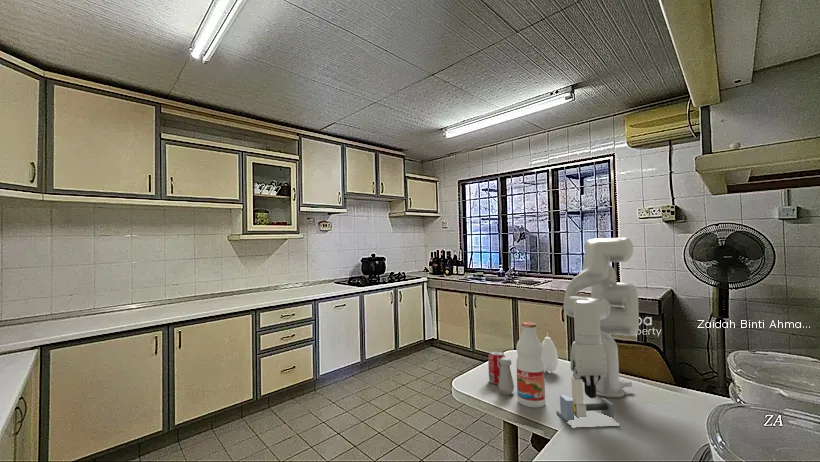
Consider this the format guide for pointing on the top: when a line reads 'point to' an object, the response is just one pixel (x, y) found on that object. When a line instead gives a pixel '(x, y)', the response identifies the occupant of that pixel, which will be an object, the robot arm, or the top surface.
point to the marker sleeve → (578, 397)
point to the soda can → (495, 366)
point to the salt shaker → (505, 377)
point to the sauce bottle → (549, 355)
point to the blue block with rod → (569, 408)
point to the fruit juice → (530, 368)
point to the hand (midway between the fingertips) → (590, 396)
